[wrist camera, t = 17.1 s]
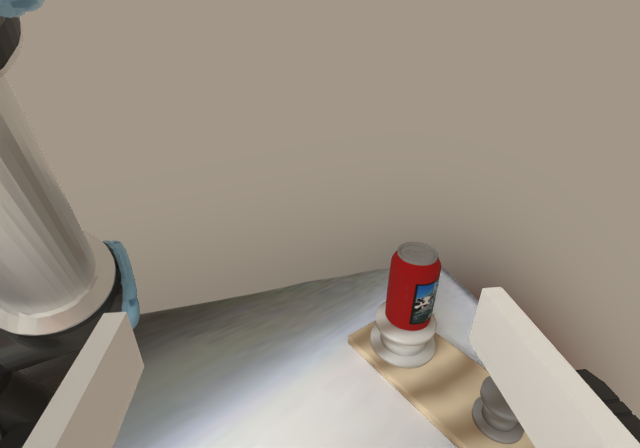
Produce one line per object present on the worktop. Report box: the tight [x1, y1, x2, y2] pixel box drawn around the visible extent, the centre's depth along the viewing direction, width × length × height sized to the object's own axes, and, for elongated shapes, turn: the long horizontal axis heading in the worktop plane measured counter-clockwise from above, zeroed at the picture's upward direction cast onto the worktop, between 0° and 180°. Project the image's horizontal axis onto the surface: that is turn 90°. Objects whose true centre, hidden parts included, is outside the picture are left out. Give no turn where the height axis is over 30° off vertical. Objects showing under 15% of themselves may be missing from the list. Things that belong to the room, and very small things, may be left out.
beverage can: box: [385, 242, 441, 331], centre depth 52 cm, size 7×7×12 cm
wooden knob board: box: [348, 302, 535, 448], centre depth 51 cm, size 28×12×6 cm, turn 36°
